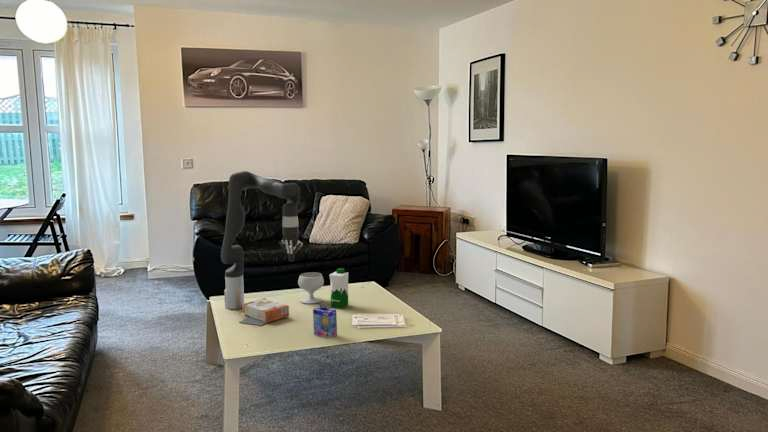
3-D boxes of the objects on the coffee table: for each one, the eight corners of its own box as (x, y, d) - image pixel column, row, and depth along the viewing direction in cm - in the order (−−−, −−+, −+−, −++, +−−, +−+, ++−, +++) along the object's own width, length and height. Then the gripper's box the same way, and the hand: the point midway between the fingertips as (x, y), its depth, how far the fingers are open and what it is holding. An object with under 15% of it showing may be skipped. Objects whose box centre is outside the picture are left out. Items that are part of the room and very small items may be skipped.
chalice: (329, 300, 318) (328, 273, 316) (313, 306, 306) (312, 278, 304) (309, 296, 325) (309, 270, 323) (293, 302, 313) (292, 275, 311)
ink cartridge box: (312, 334, 261) (312, 304, 259) (320, 331, 266) (319, 301, 264) (330, 338, 256) (329, 307, 254) (337, 335, 261) (337, 304, 259)
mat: (238, 322, 279) (238, 321, 279) (260, 312, 295) (260, 311, 295) (261, 326, 274) (261, 325, 274) (282, 315, 290) (282, 314, 290)
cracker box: (265, 311, 276) (241, 303, 290) (266, 323, 277) (242, 314, 291) (289, 304, 286) (264, 297, 300) (289, 316, 287) (265, 308, 301)
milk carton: (350, 305, 308) (349, 268, 305) (343, 309, 299) (342, 272, 297) (335, 303, 311) (335, 267, 308) (328, 307, 303) (327, 271, 300)
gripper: (274, 225, 270) (275, 261, 273) (298, 227, 265) (299, 264, 268) (283, 223, 277) (284, 258, 280) (306, 225, 272) (307, 260, 274)
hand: (291, 261), depth 274 cm, fingers closed
